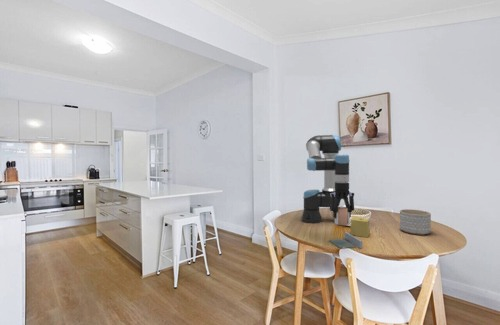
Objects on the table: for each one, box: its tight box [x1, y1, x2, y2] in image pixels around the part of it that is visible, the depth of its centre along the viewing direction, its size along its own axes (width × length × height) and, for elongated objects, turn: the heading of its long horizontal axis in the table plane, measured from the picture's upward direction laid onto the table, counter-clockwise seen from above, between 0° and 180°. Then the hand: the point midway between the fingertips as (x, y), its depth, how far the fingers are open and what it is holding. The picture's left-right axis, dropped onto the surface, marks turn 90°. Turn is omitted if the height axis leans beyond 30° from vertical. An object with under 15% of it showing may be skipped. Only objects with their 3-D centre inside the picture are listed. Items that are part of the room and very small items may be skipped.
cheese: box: [350, 215, 371, 238], centre depth 153 cm, size 10×11×10 cm
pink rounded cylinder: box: [337, 206, 349, 226], centre depth 136 cm, size 6×6×9 cm
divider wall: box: [343, 231, 363, 249], centre depth 137 cm, size 16×1×4 cm, turn 9°
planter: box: [399, 208, 432, 236], centre depth 156 cm, size 16×16×13 cm
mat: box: [329, 238, 357, 249], centre depth 136 cm, size 12×9×1 cm
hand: (342, 223), depth 136 cm, fingers closed on pink rounded cylinder, 6 cm apart
